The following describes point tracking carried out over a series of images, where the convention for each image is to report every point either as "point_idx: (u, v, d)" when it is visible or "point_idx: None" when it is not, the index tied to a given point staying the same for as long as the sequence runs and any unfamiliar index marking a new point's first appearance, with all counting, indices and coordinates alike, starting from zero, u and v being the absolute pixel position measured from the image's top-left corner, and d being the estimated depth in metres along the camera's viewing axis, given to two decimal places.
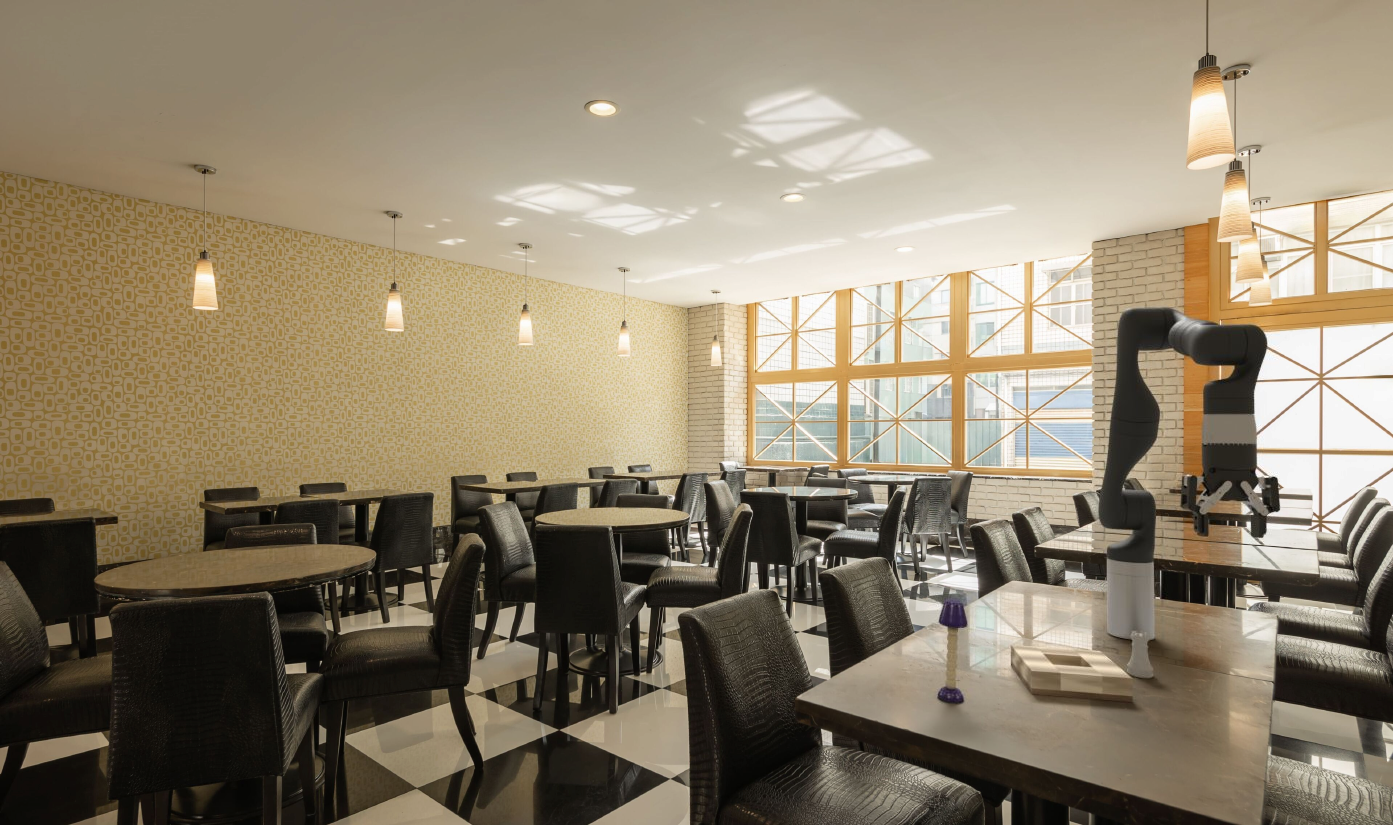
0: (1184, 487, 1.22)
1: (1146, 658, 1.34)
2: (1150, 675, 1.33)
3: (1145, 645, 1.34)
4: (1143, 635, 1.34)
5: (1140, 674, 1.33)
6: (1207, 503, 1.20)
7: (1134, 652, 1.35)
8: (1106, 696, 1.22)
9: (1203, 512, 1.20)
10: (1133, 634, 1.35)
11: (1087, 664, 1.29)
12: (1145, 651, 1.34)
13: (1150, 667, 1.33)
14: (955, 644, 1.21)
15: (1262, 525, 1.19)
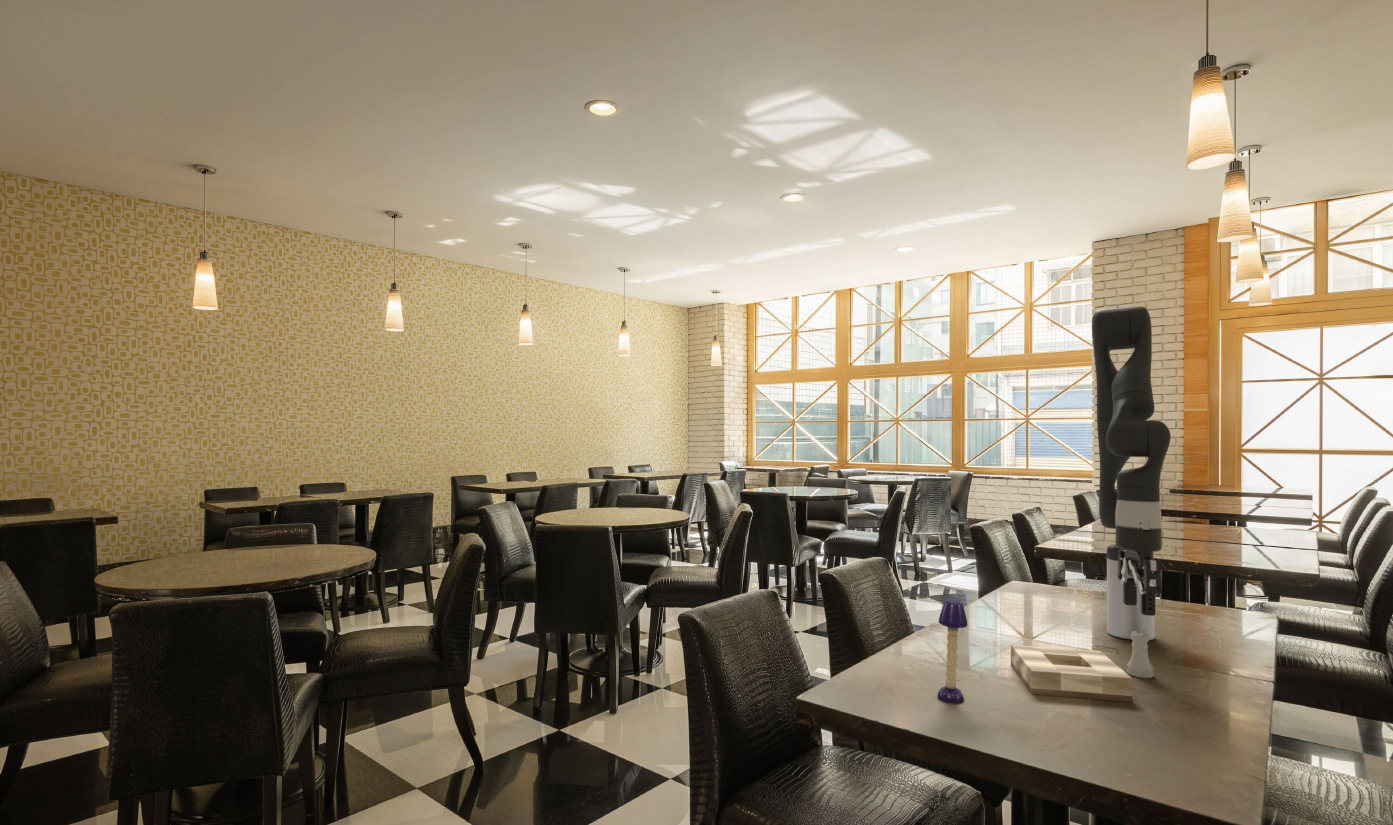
0: (1150, 572, 1.29)
1: (1146, 658, 1.34)
2: (1150, 675, 1.33)
3: (1145, 645, 1.34)
4: (1143, 635, 1.34)
5: (1140, 674, 1.33)
6: (1154, 584, 1.31)
7: (1134, 652, 1.35)
8: (1106, 696, 1.22)
9: None
10: (1133, 634, 1.35)
11: (1087, 664, 1.29)
12: (1145, 651, 1.34)
13: (1150, 667, 1.33)
14: (955, 644, 1.21)
15: None
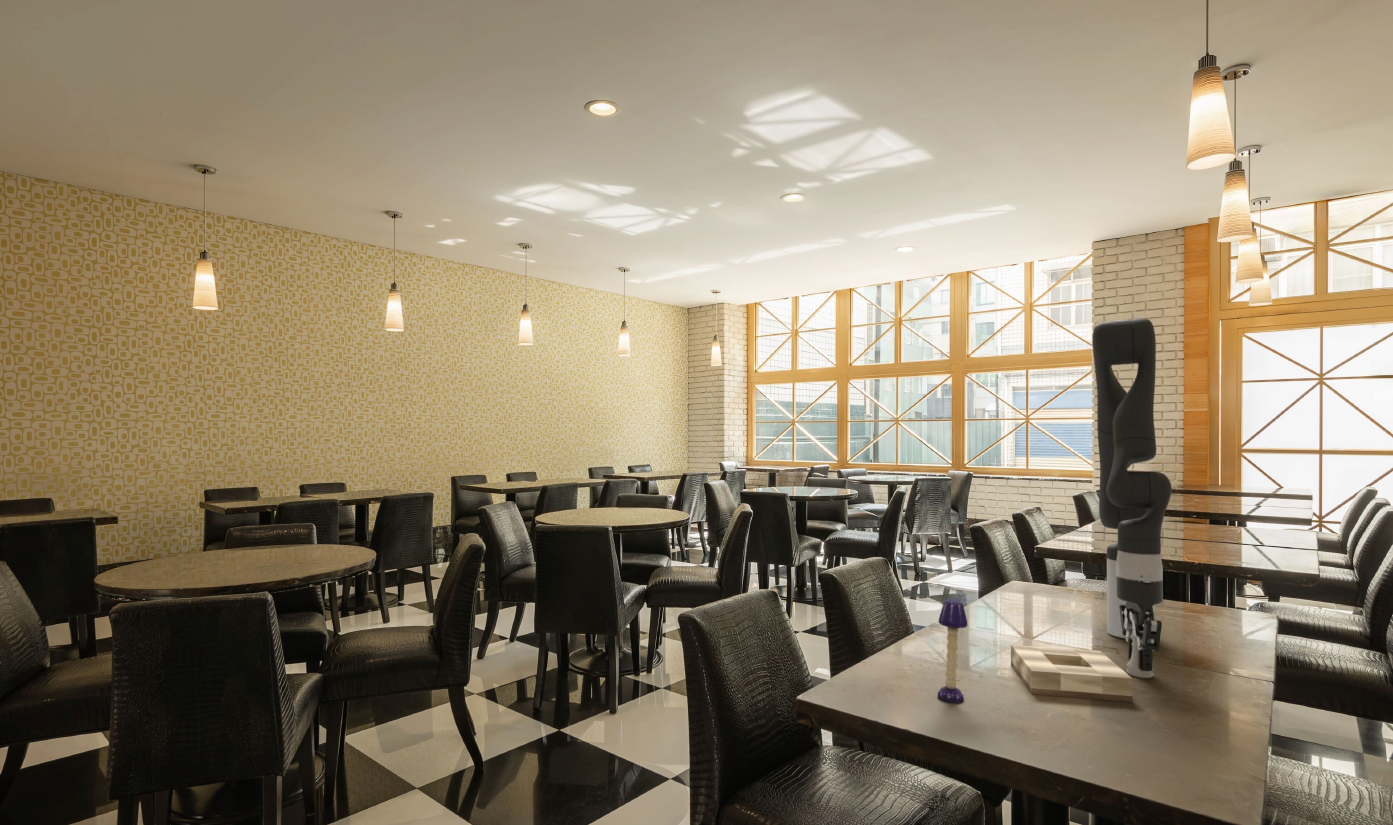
0: (1150, 632, 1.29)
1: None
2: (1150, 675, 1.33)
3: None
4: None
5: (1140, 674, 1.33)
6: None
7: (1134, 652, 1.35)
8: (1106, 696, 1.22)
9: None
10: None
11: (1087, 664, 1.29)
12: None
13: None
14: (955, 644, 1.21)
15: None
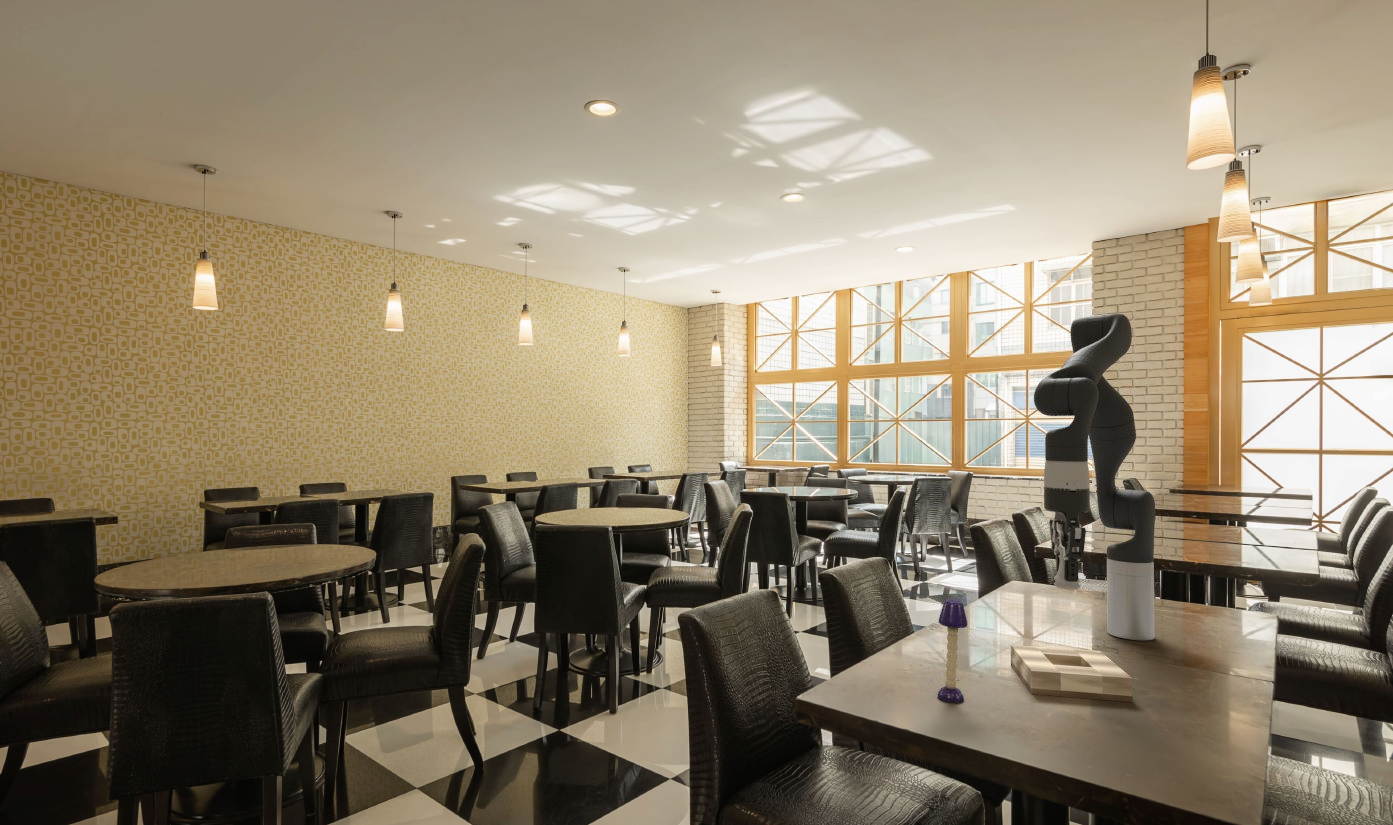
0: (1074, 540, 1.25)
1: None
2: (1076, 586, 1.29)
3: None
4: None
5: (1066, 585, 1.29)
6: (1078, 549, 1.28)
7: (1061, 564, 1.31)
8: (1106, 696, 1.22)
9: (1079, 559, 1.28)
10: None
11: (1087, 664, 1.29)
12: None
13: None
14: (955, 644, 1.21)
15: None
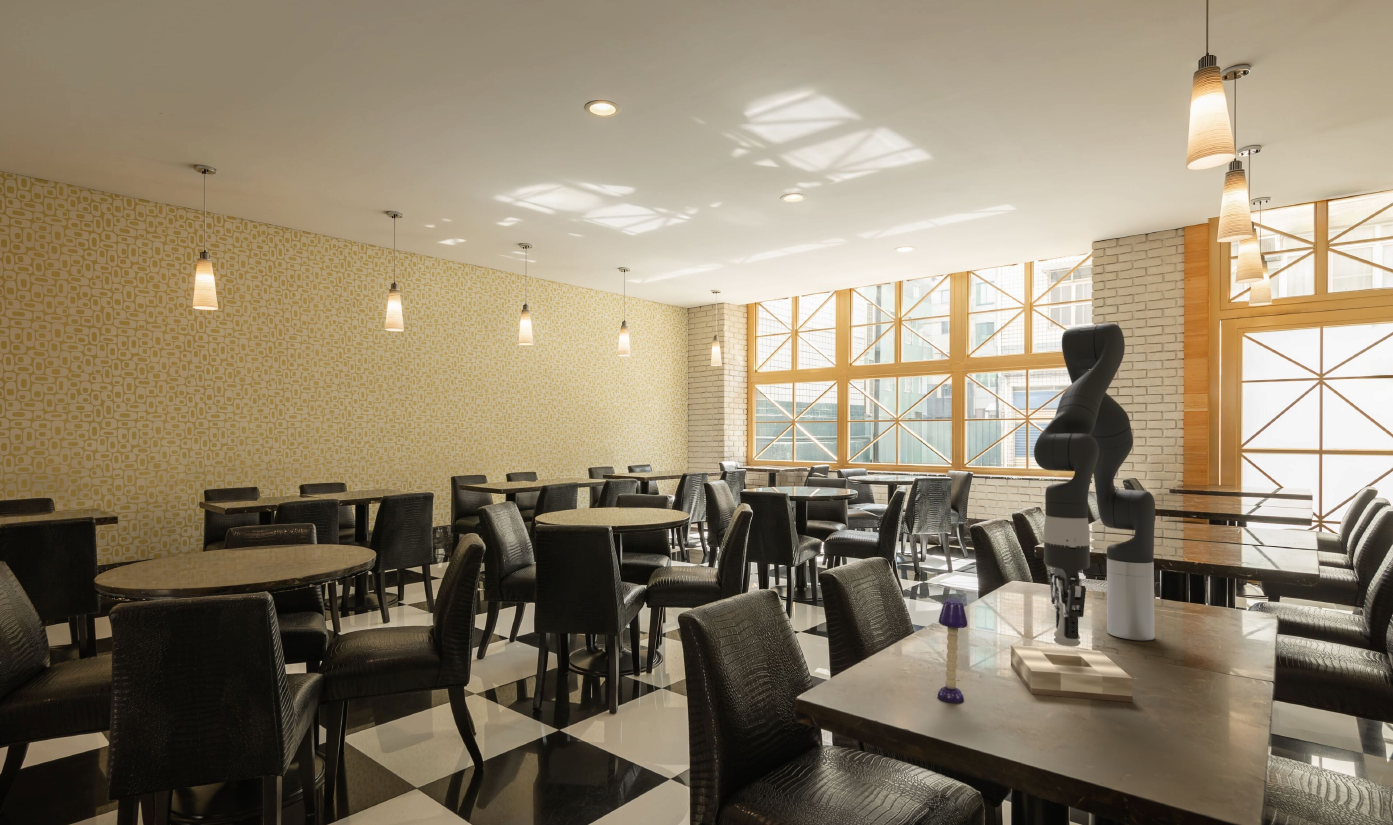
0: (1074, 598, 1.25)
1: None
2: (1076, 643, 1.29)
3: None
4: None
5: (1066, 642, 1.29)
6: (1078, 606, 1.28)
7: (1061, 620, 1.30)
8: (1106, 696, 1.22)
9: None
10: None
11: (1087, 664, 1.29)
12: None
13: None
14: (955, 644, 1.21)
15: None
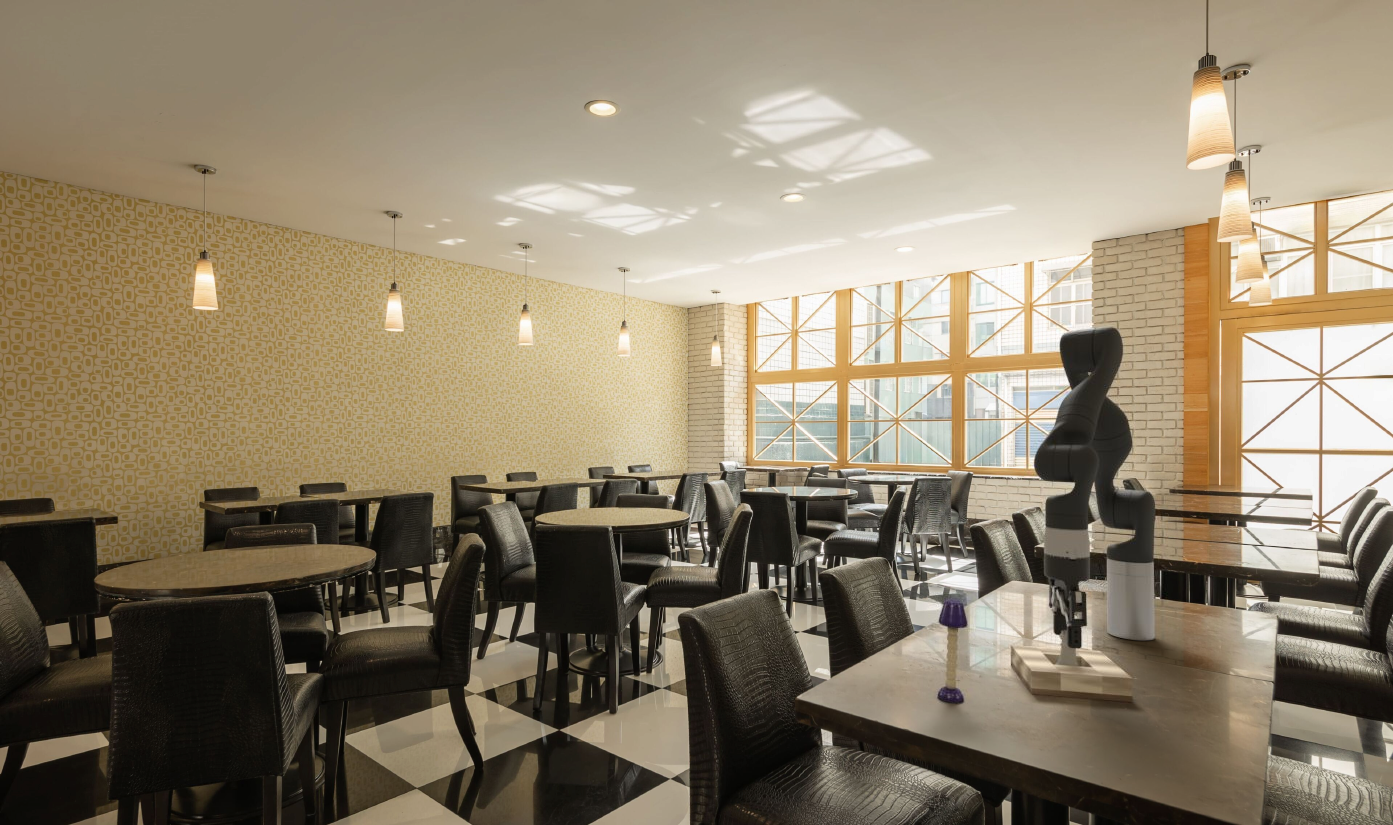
0: (1076, 604, 1.24)
1: (1074, 658, 1.29)
2: None
3: None
4: None
5: None
6: None
7: (1062, 652, 1.30)
8: (1106, 696, 1.22)
9: (1082, 625, 1.26)
10: (1062, 633, 1.31)
11: (1087, 664, 1.29)
12: (1073, 651, 1.29)
13: None
14: (955, 644, 1.21)
15: (1066, 623, 1.35)
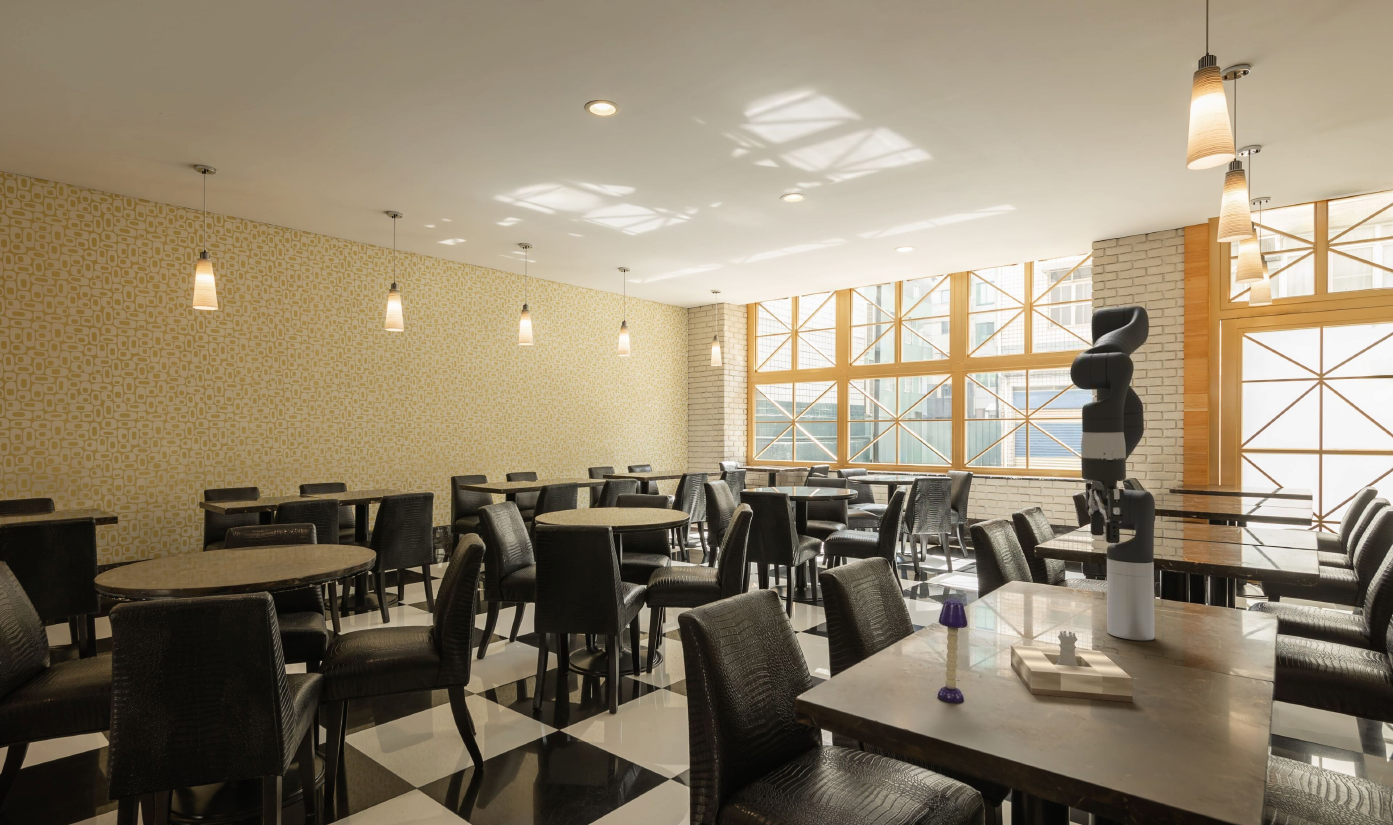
0: (1114, 500, 1.32)
1: (1073, 659, 1.29)
2: None
3: (1072, 646, 1.29)
4: (1070, 635, 1.29)
5: None
6: (1118, 512, 1.34)
7: (1061, 653, 1.30)
8: (1106, 696, 1.22)
9: (1120, 521, 1.33)
10: (1060, 634, 1.31)
11: (1087, 664, 1.29)
12: (1072, 652, 1.29)
13: None
14: (955, 644, 1.21)
15: None
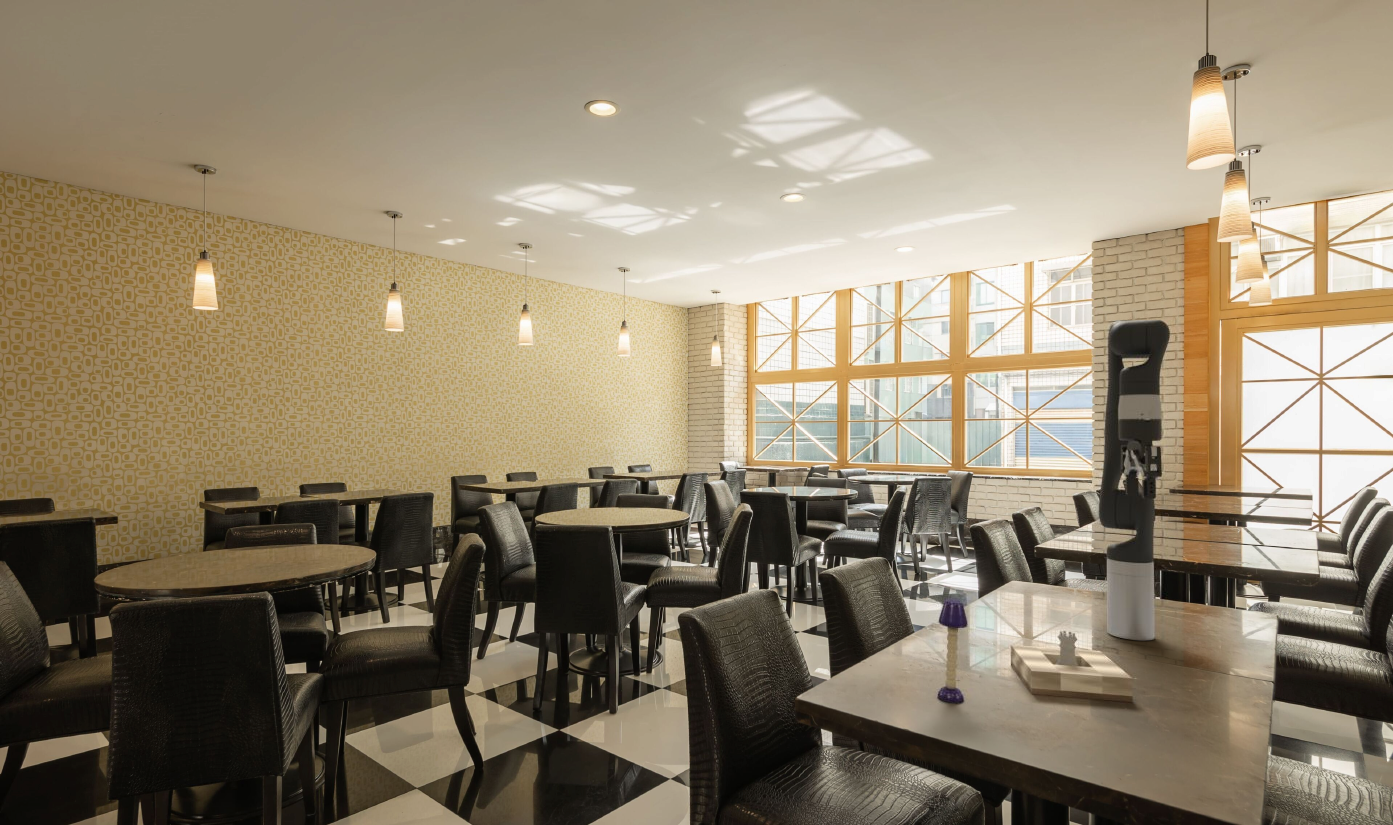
0: (1151, 457, 1.39)
1: (1073, 659, 1.29)
2: None
3: (1072, 646, 1.29)
4: (1070, 635, 1.29)
5: None
6: None
7: (1061, 653, 1.30)
8: (1106, 696, 1.22)
9: None
10: (1060, 634, 1.31)
11: (1087, 664, 1.29)
12: (1072, 652, 1.29)
13: None
14: (955, 644, 1.21)
15: None
